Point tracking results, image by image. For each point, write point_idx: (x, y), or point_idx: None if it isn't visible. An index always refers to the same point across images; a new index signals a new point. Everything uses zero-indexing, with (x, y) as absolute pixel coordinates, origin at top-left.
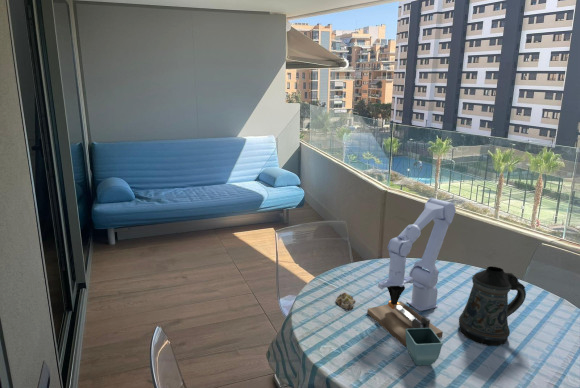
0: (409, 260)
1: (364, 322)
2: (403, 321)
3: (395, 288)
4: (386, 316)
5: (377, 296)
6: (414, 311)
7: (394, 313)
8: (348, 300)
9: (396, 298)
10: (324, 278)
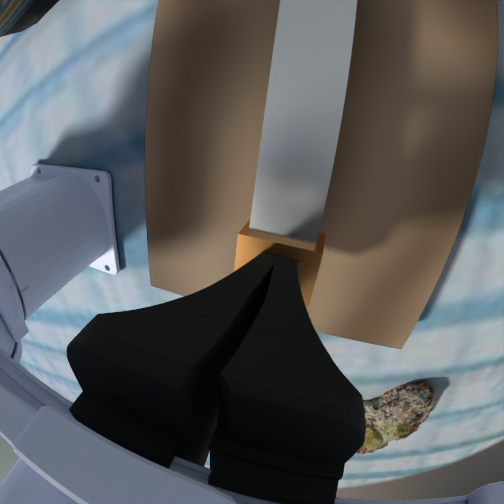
0: (36, 375)
1: (487, 277)
2: None
3: (274, 440)
4: (391, 222)
5: None
6: (147, 154)
7: None
8: (401, 424)
9: (273, 286)
10: None
